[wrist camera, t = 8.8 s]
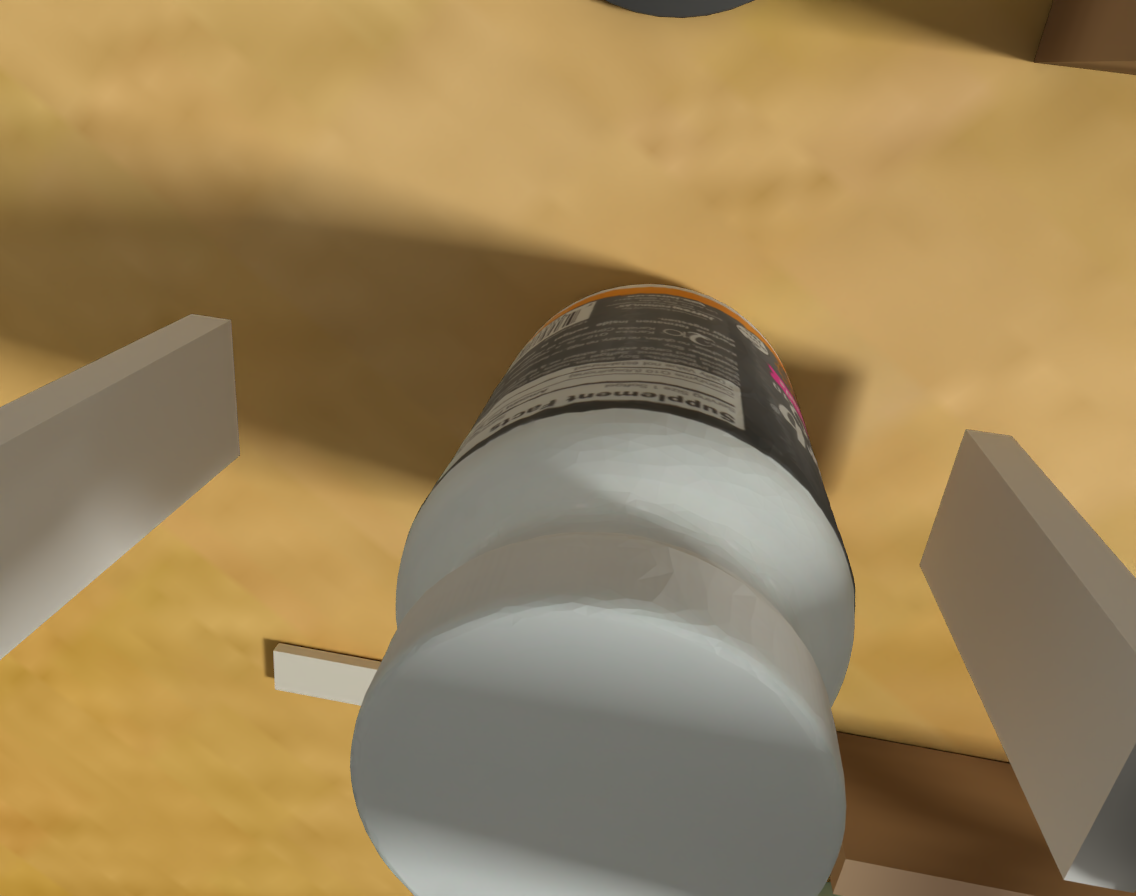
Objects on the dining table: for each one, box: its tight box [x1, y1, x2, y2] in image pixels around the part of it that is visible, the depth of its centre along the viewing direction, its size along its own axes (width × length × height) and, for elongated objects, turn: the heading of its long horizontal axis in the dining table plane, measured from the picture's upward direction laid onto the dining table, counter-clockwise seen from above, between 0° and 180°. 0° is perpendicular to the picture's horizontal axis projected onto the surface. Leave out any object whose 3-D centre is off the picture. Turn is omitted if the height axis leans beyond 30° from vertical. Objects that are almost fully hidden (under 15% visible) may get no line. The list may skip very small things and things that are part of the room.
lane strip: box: [273, 643, 381, 705], centre depth 20 cm, size 12×1×1 cm, turn 83°
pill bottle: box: [350, 284, 855, 896], centre depth 12 cm, size 6×6×10 cm
